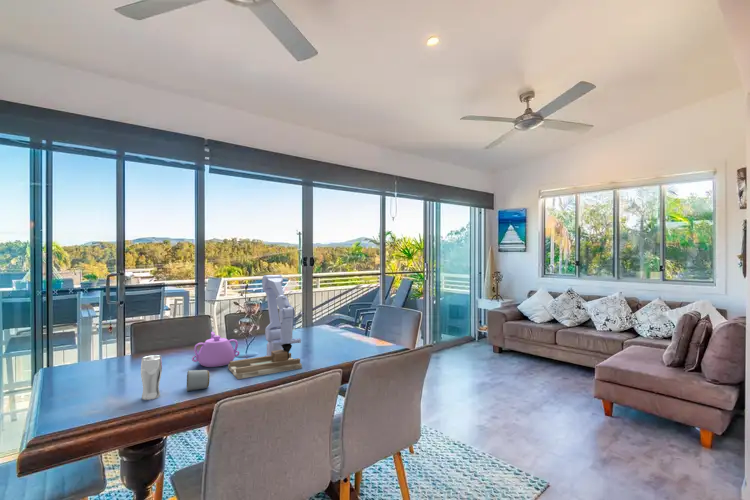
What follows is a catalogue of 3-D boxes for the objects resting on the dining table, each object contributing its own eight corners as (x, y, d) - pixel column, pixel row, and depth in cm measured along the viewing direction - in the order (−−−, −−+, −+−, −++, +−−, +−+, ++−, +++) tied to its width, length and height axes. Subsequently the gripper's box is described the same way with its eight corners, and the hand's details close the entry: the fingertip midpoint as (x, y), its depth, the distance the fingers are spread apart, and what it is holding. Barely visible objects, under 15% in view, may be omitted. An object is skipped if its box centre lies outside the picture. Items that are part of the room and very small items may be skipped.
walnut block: (271, 361, 186) (271, 351, 186) (283, 359, 189) (283, 349, 189) (275, 364, 181) (275, 354, 181) (287, 362, 184) (287, 352, 184)
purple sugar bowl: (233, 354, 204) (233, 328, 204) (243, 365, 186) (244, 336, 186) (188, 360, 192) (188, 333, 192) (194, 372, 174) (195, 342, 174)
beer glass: (146, 393, 147) (146, 355, 147) (164, 393, 148) (165, 355, 148) (136, 400, 140) (137, 360, 140) (155, 400, 141) (156, 360, 141)
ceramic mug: (209, 390, 152) (210, 370, 152) (187, 393, 148) (187, 373, 148) (206, 382, 161) (207, 364, 162) (185, 385, 157) (185, 366, 158)
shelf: (228, 368, 180) (228, 360, 180) (288, 359, 196) (288, 351, 196) (237, 379, 166) (237, 370, 166) (301, 368, 182) (301, 360, 182)
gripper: (275, 334, 179) (274, 363, 179) (303, 331, 188) (303, 358, 188) (270, 332, 185) (269, 359, 185) (297, 328, 193) (297, 355, 193)
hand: (286, 359), depth 187 cm, fingers closed, pressing on walnut block
